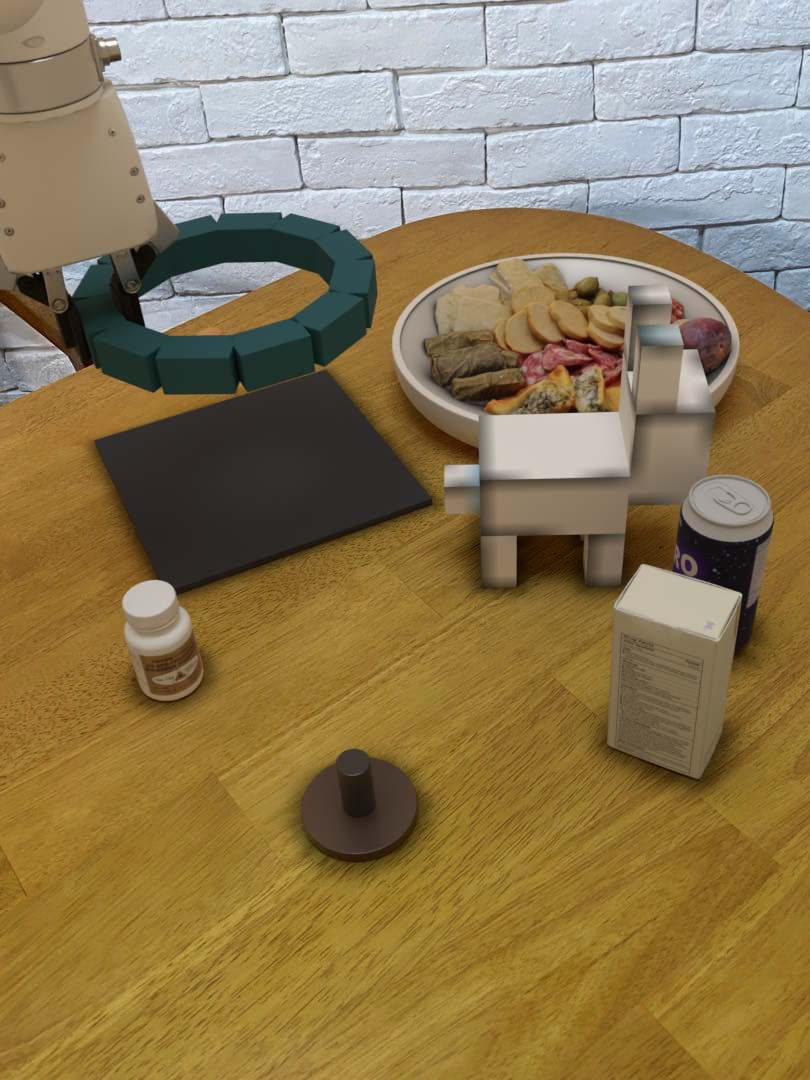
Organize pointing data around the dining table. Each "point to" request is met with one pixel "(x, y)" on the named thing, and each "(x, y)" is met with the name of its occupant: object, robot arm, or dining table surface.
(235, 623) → the dining table surface
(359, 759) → the ring stand
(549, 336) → the bowl
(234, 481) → the mat
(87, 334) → the ring
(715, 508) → the beverage can
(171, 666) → the pill bottle
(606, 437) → the toy llama
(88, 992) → the dining table surface
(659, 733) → the cosmetic box
